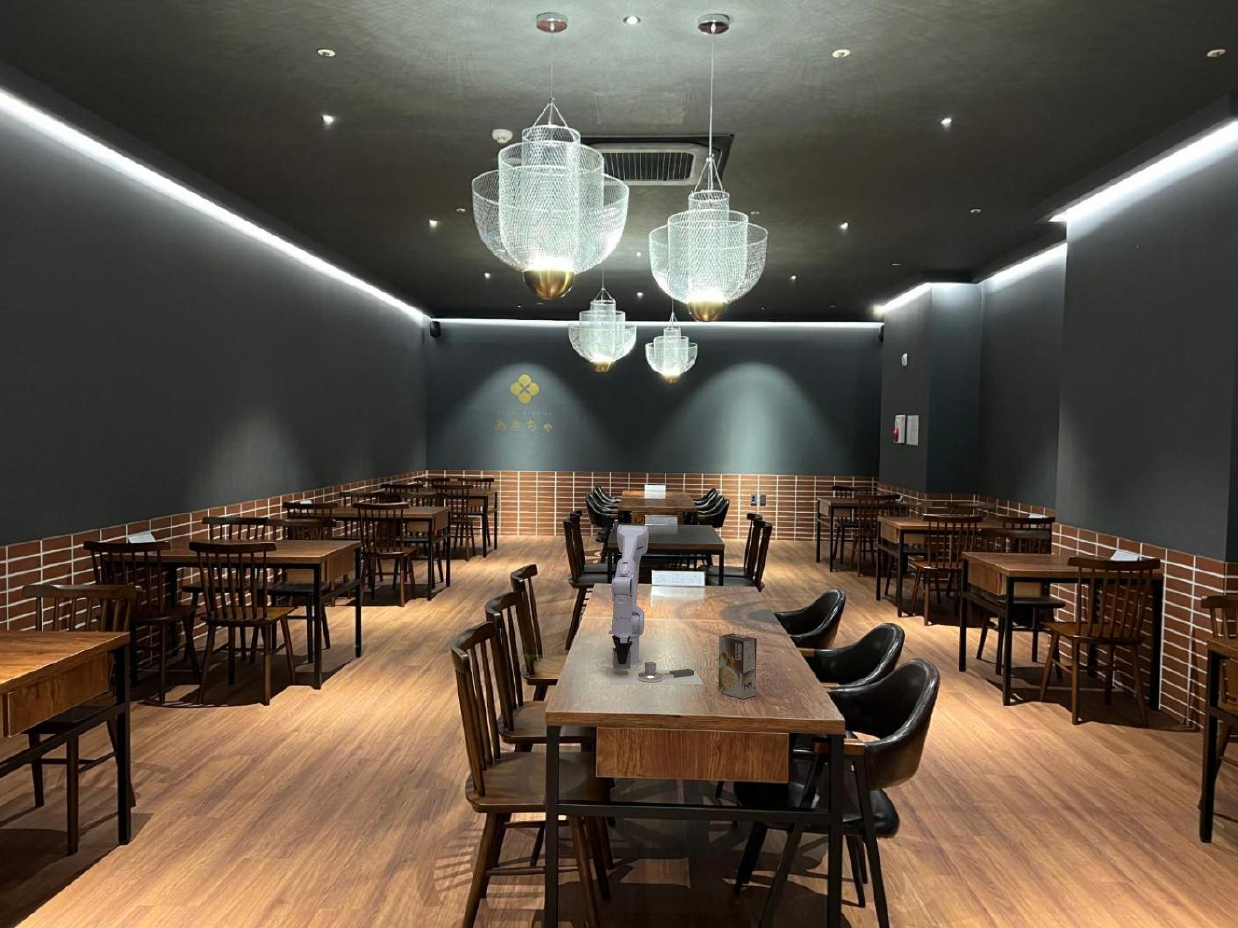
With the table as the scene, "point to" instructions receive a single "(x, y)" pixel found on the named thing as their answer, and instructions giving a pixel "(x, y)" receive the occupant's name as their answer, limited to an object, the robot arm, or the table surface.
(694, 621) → the table surface
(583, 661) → the table surface
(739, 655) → the coffee box
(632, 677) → the mat
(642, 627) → the robot arm
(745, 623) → the table surface
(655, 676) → the ratchet
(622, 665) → the socket
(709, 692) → the table surface
